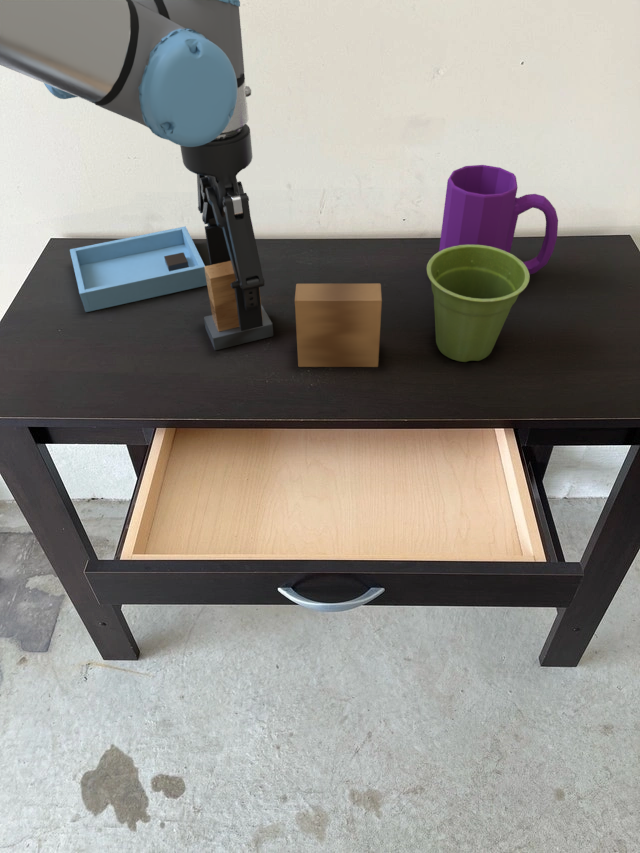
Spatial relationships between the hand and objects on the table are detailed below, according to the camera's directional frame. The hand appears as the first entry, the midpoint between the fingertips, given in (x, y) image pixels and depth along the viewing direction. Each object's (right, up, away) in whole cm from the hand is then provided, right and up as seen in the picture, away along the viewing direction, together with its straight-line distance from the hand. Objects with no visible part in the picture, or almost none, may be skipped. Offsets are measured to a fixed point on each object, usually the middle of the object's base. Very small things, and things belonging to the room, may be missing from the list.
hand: (235, 297), depth 84 cm
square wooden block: (+13, -8, 0) cm, 15 cm away
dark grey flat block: (-11, +8, +15) cm, 20 cm away
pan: (-16, +6, +14) cm, 22 cm away
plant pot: (+29, -6, +1) cm, 30 cm away
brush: (0, -4, +4) cm, 6 cm away
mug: (+35, +5, +12) cm, 38 cm away
